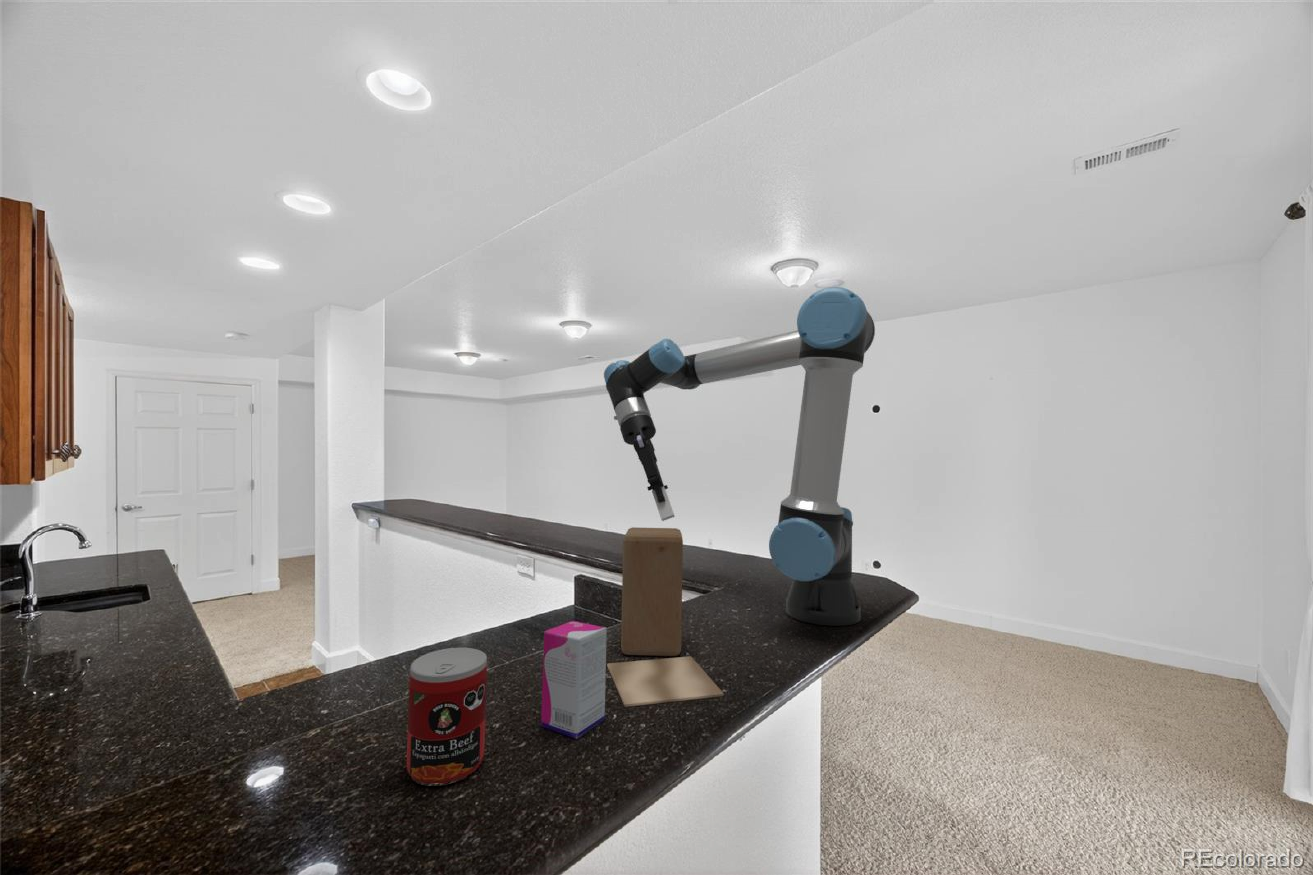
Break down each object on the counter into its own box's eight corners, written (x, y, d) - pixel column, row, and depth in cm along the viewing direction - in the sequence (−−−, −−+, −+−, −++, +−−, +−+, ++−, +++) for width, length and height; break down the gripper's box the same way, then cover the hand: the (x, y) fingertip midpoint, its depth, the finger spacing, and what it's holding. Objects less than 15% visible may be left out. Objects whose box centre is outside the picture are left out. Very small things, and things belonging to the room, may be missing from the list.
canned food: (399, 795, 51) (403, 679, 51) (413, 750, 58) (416, 650, 59) (483, 782, 53) (486, 671, 53) (485, 741, 61) (488, 644, 61)
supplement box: (606, 718, 66) (608, 626, 67) (576, 740, 61) (578, 640, 62) (570, 707, 69) (572, 618, 70) (539, 726, 64) (541, 631, 64)
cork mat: (691, 658, 87) (691, 656, 87) (723, 696, 73) (723, 693, 73) (606, 665, 83) (606, 663, 83) (624, 706, 69) (624, 704, 69)
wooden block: (681, 658, 86) (683, 535, 87) (620, 657, 87) (622, 534, 87) (679, 637, 96) (681, 527, 97) (625, 636, 97) (627, 526, 97)
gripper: (626, 439, 124) (656, 532, 114) (612, 415, 113) (644, 515, 102) (656, 428, 124) (689, 520, 114) (645, 402, 113) (680, 501, 102)
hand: (667, 517), depth 108 cm, fingers closed
